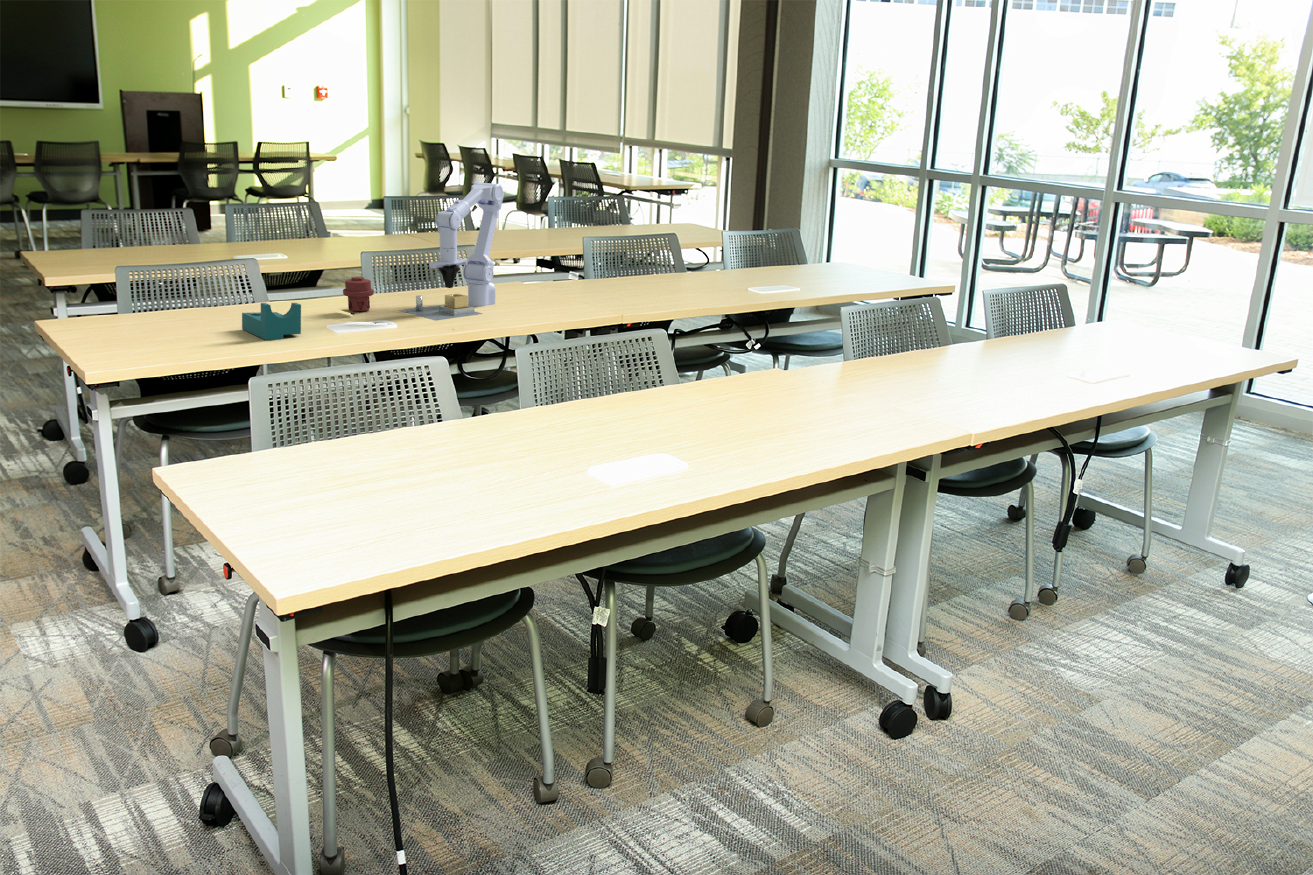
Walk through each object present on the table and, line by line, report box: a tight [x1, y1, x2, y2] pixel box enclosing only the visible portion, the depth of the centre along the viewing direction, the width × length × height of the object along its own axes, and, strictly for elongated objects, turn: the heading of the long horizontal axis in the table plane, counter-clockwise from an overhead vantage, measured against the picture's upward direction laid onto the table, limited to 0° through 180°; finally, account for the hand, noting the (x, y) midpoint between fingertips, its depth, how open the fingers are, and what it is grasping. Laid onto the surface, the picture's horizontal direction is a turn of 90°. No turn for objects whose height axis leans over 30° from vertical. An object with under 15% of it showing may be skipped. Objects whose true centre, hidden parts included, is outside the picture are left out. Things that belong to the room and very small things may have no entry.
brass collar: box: [444, 293, 469, 309], centre depth 348 cm, size 6×6×5 cm
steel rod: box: [415, 295, 424, 312], centre depth 348 cm, size 2×2×5 cm
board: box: [398, 303, 484, 321], centre depth 349 cm, size 20×21×1 cm
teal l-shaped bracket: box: [241, 302, 302, 341], centre depth 309 cm, size 18×11×10 cm, turn 42°
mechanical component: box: [342, 276, 375, 316], centre depth 343 cm, size 12×10×10 cm
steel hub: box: [439, 304, 476, 316], centre depth 348 cm, size 9×9×5 cm
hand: (449, 287), depth 347 cm, fingers closed
